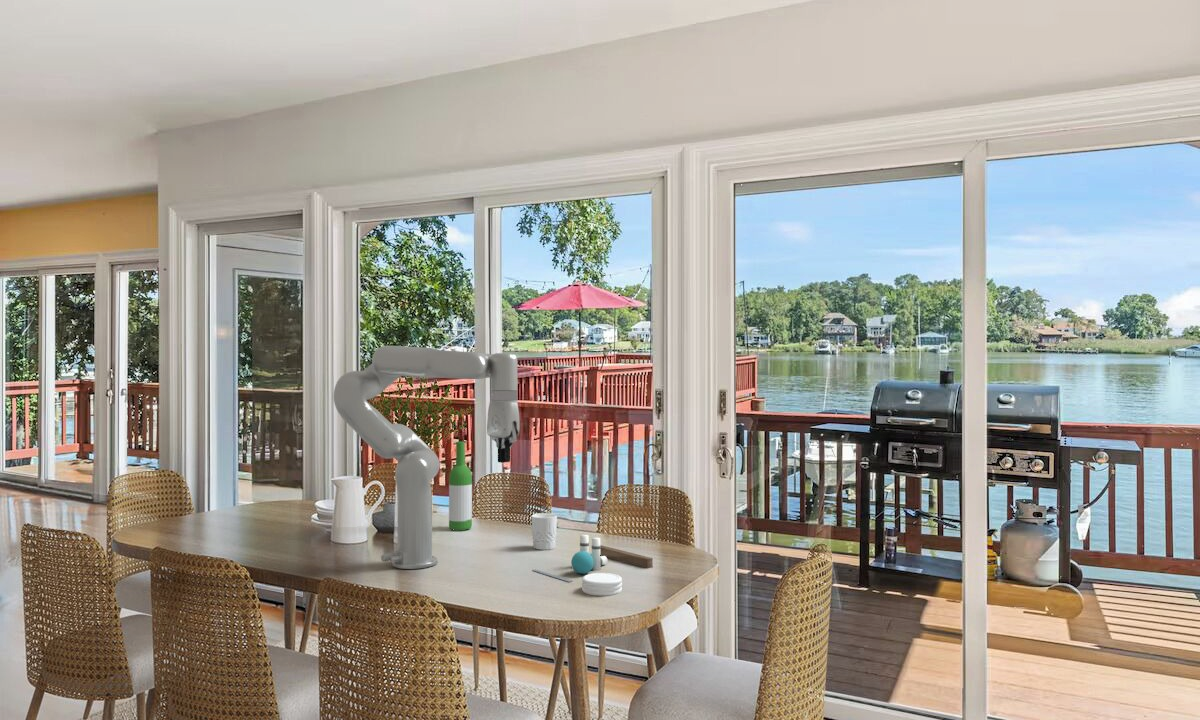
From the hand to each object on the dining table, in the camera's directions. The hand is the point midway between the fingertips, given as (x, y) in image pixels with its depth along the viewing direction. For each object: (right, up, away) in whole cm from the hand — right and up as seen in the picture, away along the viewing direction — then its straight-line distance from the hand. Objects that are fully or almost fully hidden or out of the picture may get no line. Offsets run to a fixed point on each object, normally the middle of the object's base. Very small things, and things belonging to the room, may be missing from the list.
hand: (504, 461), depth 228 cm
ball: (+22, -26, -9) cm, 35 cm away
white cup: (+10, -30, +22) cm, 38 cm away
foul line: (+14, -29, -12) cm, 34 cm away
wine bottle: (-21, -30, +51) cm, 62 cm away
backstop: (+34, -29, +6) cm, 45 cm away
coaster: (+27, -29, -25) cm, 48 cm away
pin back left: (+23, -29, -1) cm, 37 cm away
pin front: (+22, -28, -5) cm, 36 cm away
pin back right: (+26, -29, -5) cm, 39 cm away
